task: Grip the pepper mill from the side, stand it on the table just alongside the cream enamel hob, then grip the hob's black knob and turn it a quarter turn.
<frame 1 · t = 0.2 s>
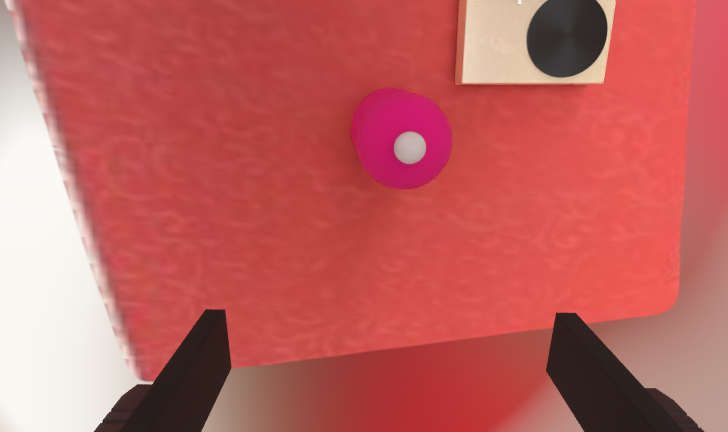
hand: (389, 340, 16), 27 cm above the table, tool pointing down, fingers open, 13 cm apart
pepper mill: (387, 126, 41), on the table
burner: (566, 35, 36), resting on hob
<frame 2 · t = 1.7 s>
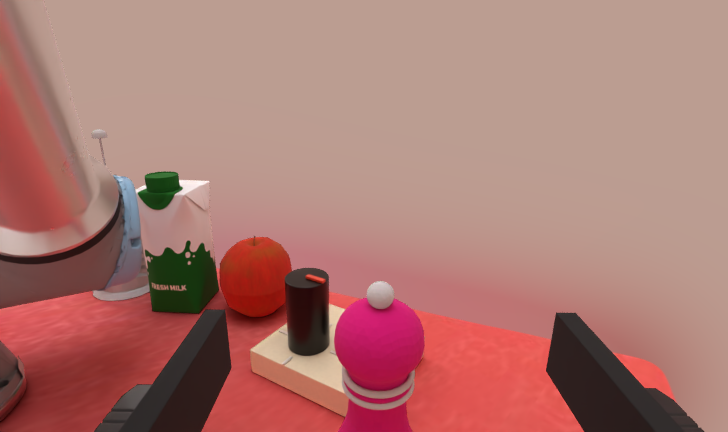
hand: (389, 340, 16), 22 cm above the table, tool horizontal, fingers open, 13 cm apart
milk carton: (188, 301, 62), on the table
hob knob: (307, 309, 46), point 7 cm above the table, hinge at 0.0°
french press: (123, 288, 65), on the table
apple: (259, 309, 60), on the table
hob: (340, 364, 48), on the table
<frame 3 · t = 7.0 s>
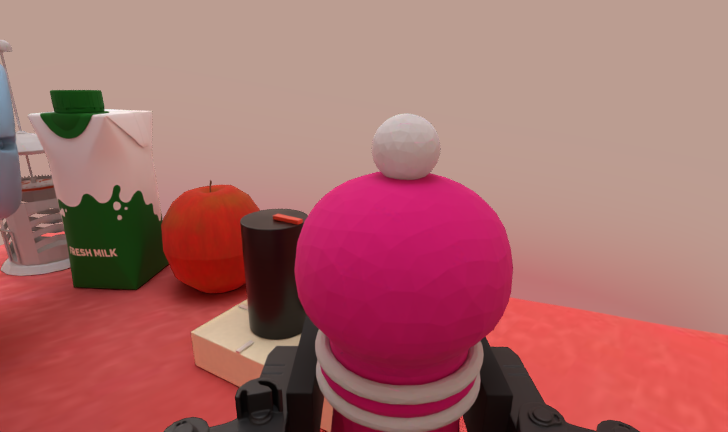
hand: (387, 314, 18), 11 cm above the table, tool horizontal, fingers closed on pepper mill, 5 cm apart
milk carton: (126, 275, 46), on the table
hob knob: (278, 270, 30), point 7 cm above the table, hinge at 0.0°
french press: (45, 262, 50), on the table
apple: (221, 284, 44), on the table
hob: (328, 353, 33), on the table
when the fingers open (11 cm above the table, at t = 13.2 s): pepper mill stays where it is, on the table.
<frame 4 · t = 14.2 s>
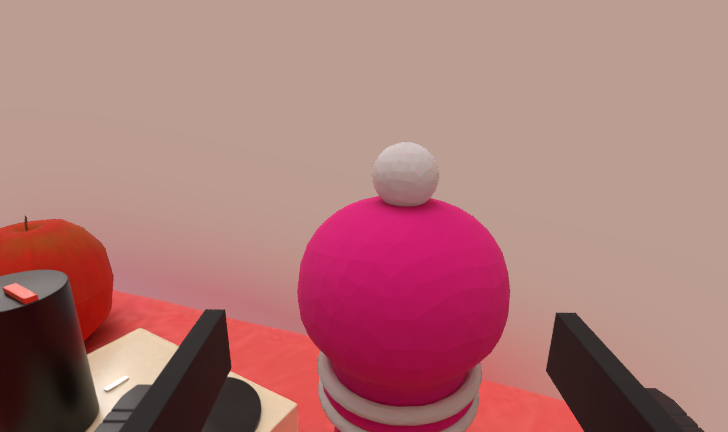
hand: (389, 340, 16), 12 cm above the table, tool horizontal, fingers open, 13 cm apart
burner: (198, 421, 23), resting on hob
hob knob: (30, 359, 22), point 7 cm above the table, hinge at 0.0°
apple: (57, 342, 36), on the table
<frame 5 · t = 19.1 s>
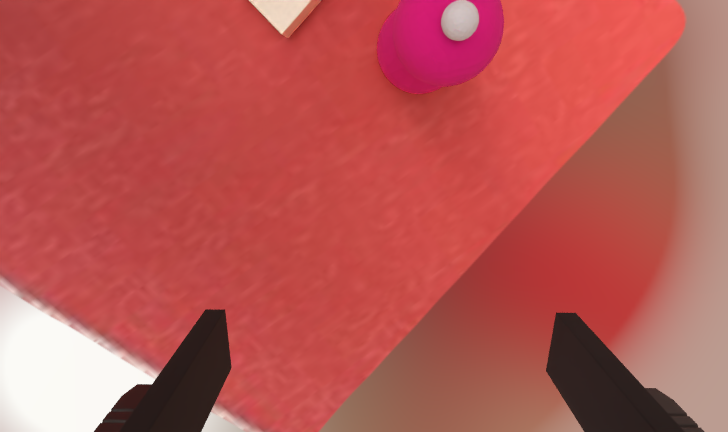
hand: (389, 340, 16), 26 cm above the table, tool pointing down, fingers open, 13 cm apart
pepper mill: (414, 52, 38), on the table
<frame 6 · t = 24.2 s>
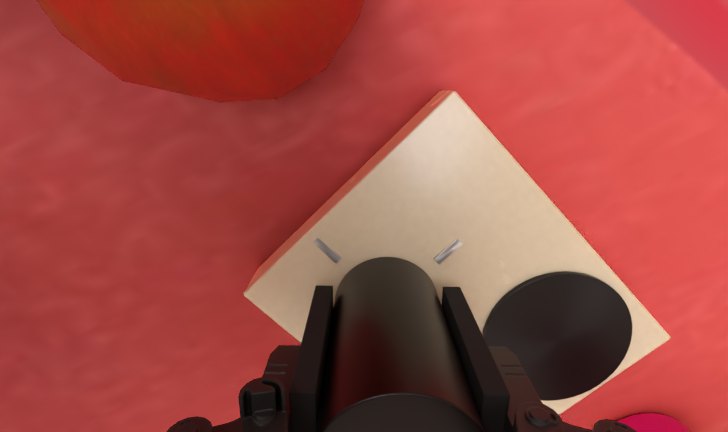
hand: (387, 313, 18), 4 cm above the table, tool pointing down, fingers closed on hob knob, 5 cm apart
burner: (554, 337, 19), resting on hob
hob knob: (391, 365, 15), point 7 cm above the table, hinge at 0.0°, touching gripper
hob: (448, 287, 22), on the table
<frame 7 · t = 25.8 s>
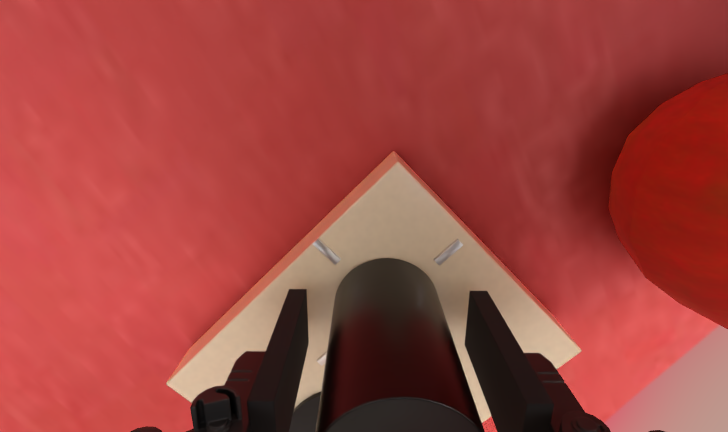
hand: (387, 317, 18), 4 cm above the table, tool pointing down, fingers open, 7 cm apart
hob knob: (392, 368, 15), point 7 cm above the table, hinge at 89.9°
apple: (671, 172, 20), on the table
hob: (369, 332, 23), on the table
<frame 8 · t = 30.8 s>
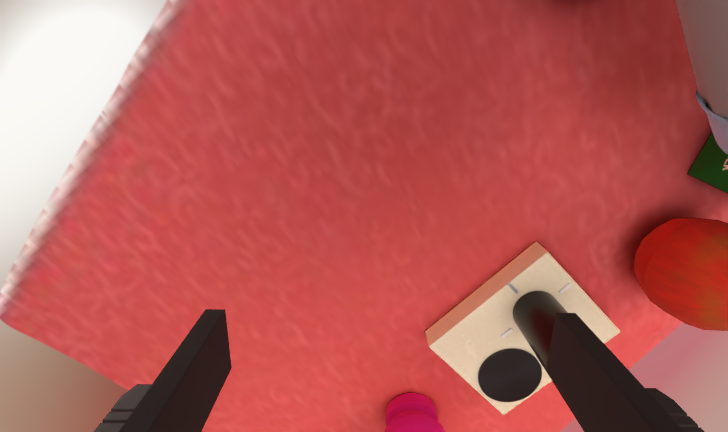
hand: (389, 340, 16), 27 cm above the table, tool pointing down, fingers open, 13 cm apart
pepper mill: (410, 411, 51), on the table
burner: (509, 374, 45), resting on hob
hob knob: (553, 335, 38), point 7 cm above the table, hinge at 89.9°
apple: (661, 250, 44), on the table
hob: (514, 324, 47), on the table
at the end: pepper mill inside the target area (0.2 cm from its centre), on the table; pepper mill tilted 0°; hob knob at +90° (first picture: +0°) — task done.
